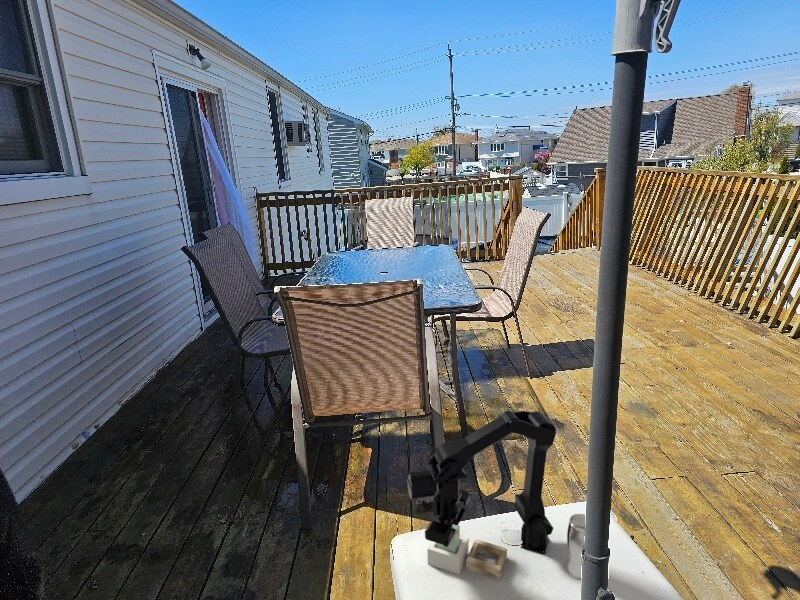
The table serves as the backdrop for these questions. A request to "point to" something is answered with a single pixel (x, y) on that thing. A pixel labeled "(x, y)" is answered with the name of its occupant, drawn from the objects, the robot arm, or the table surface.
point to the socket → (448, 556)
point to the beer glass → (575, 544)
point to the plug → (452, 542)
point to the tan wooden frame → (482, 565)
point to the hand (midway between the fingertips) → (448, 540)
